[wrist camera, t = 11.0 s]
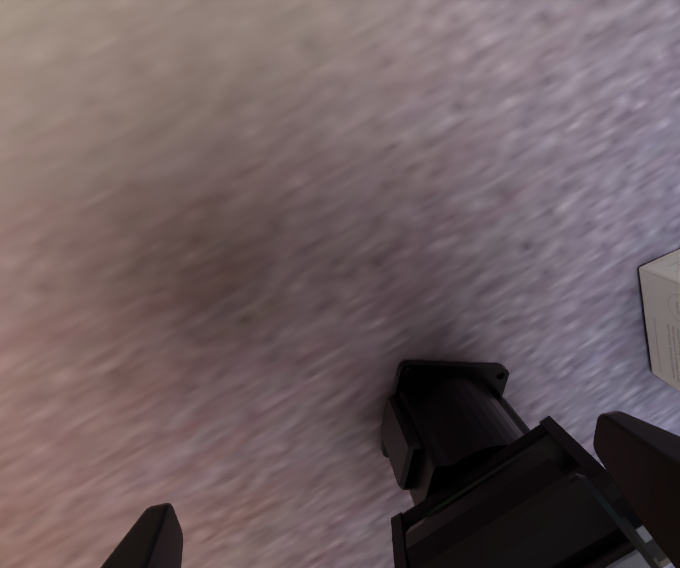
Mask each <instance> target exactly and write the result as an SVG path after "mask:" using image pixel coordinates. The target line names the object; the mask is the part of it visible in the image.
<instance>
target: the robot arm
mask: <svg viewBox="0 0 680 568" xmlns="http://www.w3.org/2000/svg"><path fill="white" fill-rule="evenodd" d="M407 368H411V370H410V371H408V372H405V370H406V369H407ZM499 372H501V373H500V374H499V375H497V374H498V373H499ZM496 375H497V376H496ZM508 376H509V372H508V370H507V369H506V368H505V367H504V366H503V365H500V364H480V363H459V362H438V361H416V360H406V361H404V362H402V363H401V364H400V365H399V368H398V372H397V377H396V381H395V386H394V390H393V394H392V395H390V396H389V398H388V400H387V404H386V409H385V413H384V418H383V423H382V427H381V435H382V438H383V440H382V445H381V450H382V453H383V455H384V456H385V457H388V458H389V459H390V462H391V465H392V468H393V471H394V474H395V477H396V480H397V483H398V485H399V487H400V488H401V489H402V490H409V491H410V494H411V497H412V499H413V502H414V505H415V506H414V507H412V508H411V509H409V510H407V511H406V512H404V513H401V512H400V513H399V514H397V515H396V516H394V517H392V518H391V526H392V542H393V553H394V565H395V568H663V567H664V566H666V565H668V564H669V563H671V562H672V564H673V565H674V566H675V568H680V436H677V435H675V434H673V433H670V432H668V431H666V430H663V429H661V428H659V427H656V426H654V425H652V424H649V423H647V422H645V421H642V420H640V419H638V418H635V417H633V416H630V415H628V414H626V413H623V412H620V411H613V412H609V413H604V414H601V415H600V416H599V417H598V419H597V424H596V430H595V435H594V441H593V445H594V449H595V452H596V454H597V456H598V457H599V459H600V461H601V462H602V464H603V465H604V467H605V468H606V469H605V468H604V467H603V466H602V465H601V464H600V463H599V462H597V461H596V460H595V459H594V458H593V457H592V456H591V455H590V454H589V453H588V452H587V451H586V450H585V449H584V448H583V447H582V446H581V445H580V444H579V443H578V442H576V441H575V440H574V439H573V438H572V437H571V436H570V435H569V434H568V433H567V432H566V431H565V430H564V429H563V428H562V427H561V426H560V425H559V424H558V423H556V422H555V421H554V420H553V419H552V418H551V417H550V416H548V417H546V418H545V419H543V420H542V421H540V422H539V423H540V425H538V426H537V427H535V428H534V429H532V430H531V431H530V429H529V428H528V427H527V426H526V424H525V423H524V422H523V421H522V420H521V418H520V417H519V416H518V415H517V413H516V412H515V411H514V410H513V408H512V407H511V406H510V405H509V404H508V402H507V401H506V400H505V399H504V397H503V396H502V394H503V391H504V388H505V385H506V382H507V379H508ZM607 471H608V472H607ZM182 550H183V534H182V529H181V527H180V524H179V521H178V519H177V516H176V514H175V511H174V508H173V506H172V505H171V504H170V503H164V504H159V505H155V506H151V507H149V508H147V509H146V510H145V511H144V513H143V514H142V515H141V516H140V518H139V519H138V520H137V522H136V523H135V524H134V525H133V527H132V528H131V529H130V531H129V532H128V533H127V534H126V536H125V537H124V538H123V539H122V541H121V542H120V543H119V545H118V546H117V547H116V548H115V550H114V551H113V552H112V554H111V555H110V556H109V557H108V559H107V560H106V561H105V563H104V564H103V565H102V566H101V568H181V562H182Z"/></svg>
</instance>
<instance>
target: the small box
mask: <svg viewBox="0 0 680 568" xmlns="http://www.w3.org/2000/svg"><path fill="white" fill-rule="evenodd" d="M639 274H640V280H641V288H642V296H643V304H644V312H645V320H646V328H647V335H648V343H649V351H650V358H651V366H652V373H653V374H654V375H655V376H657V377H658V378H660V379H662V380H663V381H665V382H666V383H668V384H669V385H671V386H672V387H674V388H675V389H677V390H678V391H680V249H678V250H676V251H674V252H671V253H669V254H667V255H665V256H663V257H660V258H658V259H656V260H654V261H652V262H650V263H647V264H645V265H643V266H641V267H640V268H639Z"/></svg>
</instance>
